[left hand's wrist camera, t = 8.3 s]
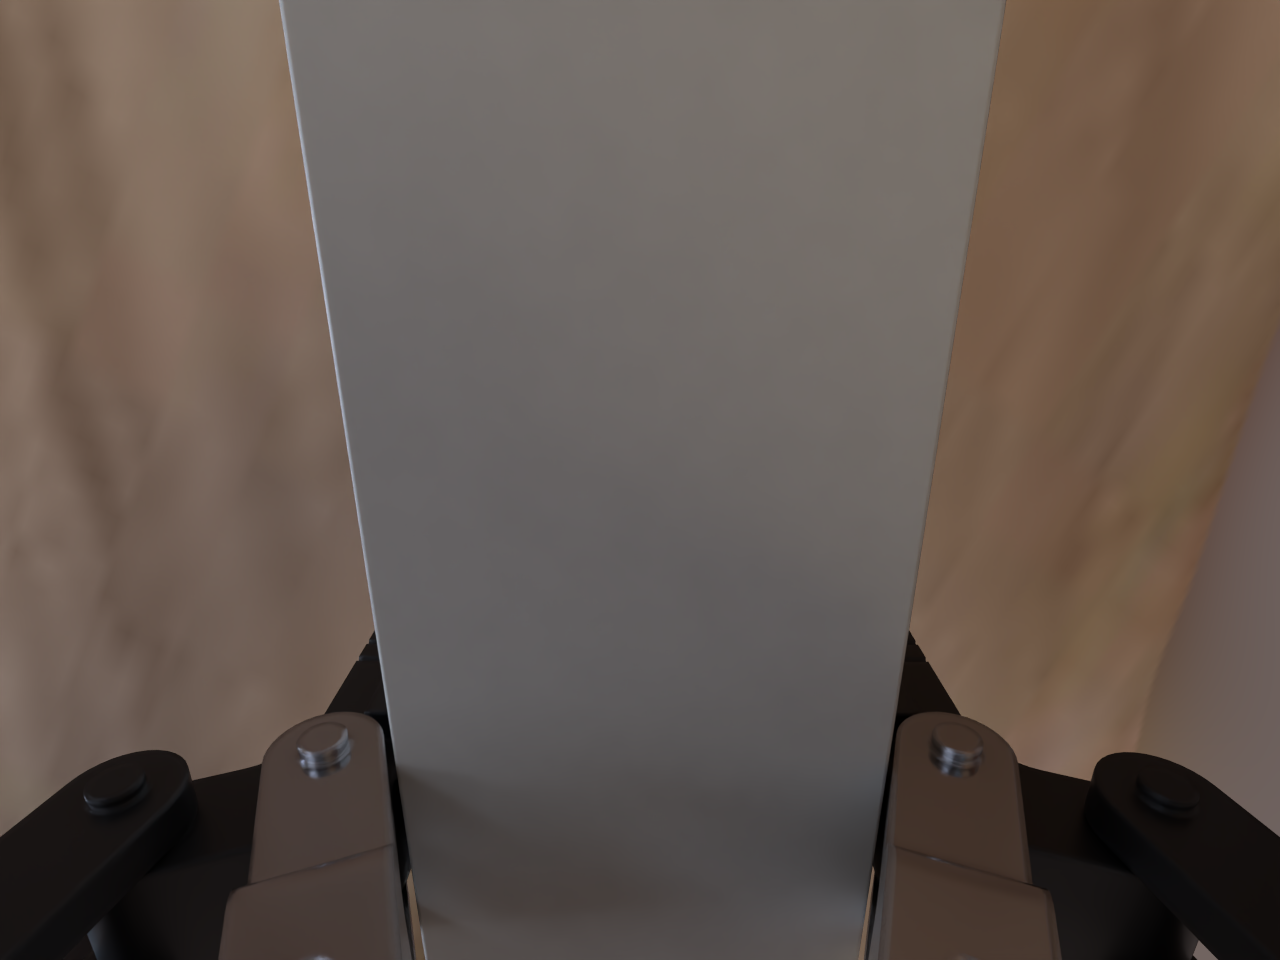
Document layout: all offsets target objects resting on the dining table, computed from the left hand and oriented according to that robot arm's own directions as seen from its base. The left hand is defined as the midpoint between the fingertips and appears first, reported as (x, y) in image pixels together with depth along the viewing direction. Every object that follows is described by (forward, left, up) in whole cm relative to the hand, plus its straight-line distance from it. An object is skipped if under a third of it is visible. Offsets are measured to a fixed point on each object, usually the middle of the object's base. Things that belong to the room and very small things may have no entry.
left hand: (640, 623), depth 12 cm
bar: (+3, +9, -4) cm, 10 cm away
